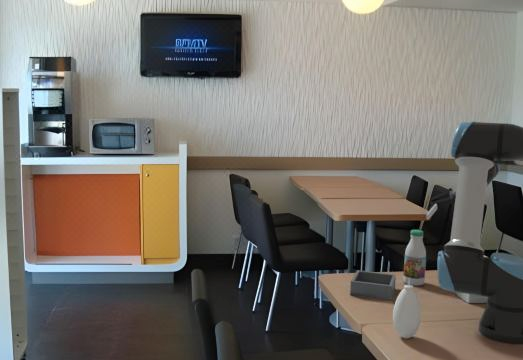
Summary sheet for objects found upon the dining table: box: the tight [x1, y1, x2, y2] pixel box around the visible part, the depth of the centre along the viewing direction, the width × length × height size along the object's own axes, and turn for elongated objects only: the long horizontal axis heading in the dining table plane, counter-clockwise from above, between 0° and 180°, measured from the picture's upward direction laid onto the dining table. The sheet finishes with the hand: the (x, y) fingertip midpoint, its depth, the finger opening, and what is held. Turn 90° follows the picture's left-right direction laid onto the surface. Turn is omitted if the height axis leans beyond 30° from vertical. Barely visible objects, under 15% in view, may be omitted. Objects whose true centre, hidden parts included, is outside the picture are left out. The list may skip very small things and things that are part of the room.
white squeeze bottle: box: [392, 277, 422, 339], centre depth 169 cm, size 8×8×18 cm
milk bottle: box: [402, 229, 427, 287], centre depth 220 cm, size 8×8×20 cm
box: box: [349, 269, 397, 301], centre depth 209 cm, size 14×14×5 cm
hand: (443, 224), depth 217 cm, fingers open, 13 cm apart
